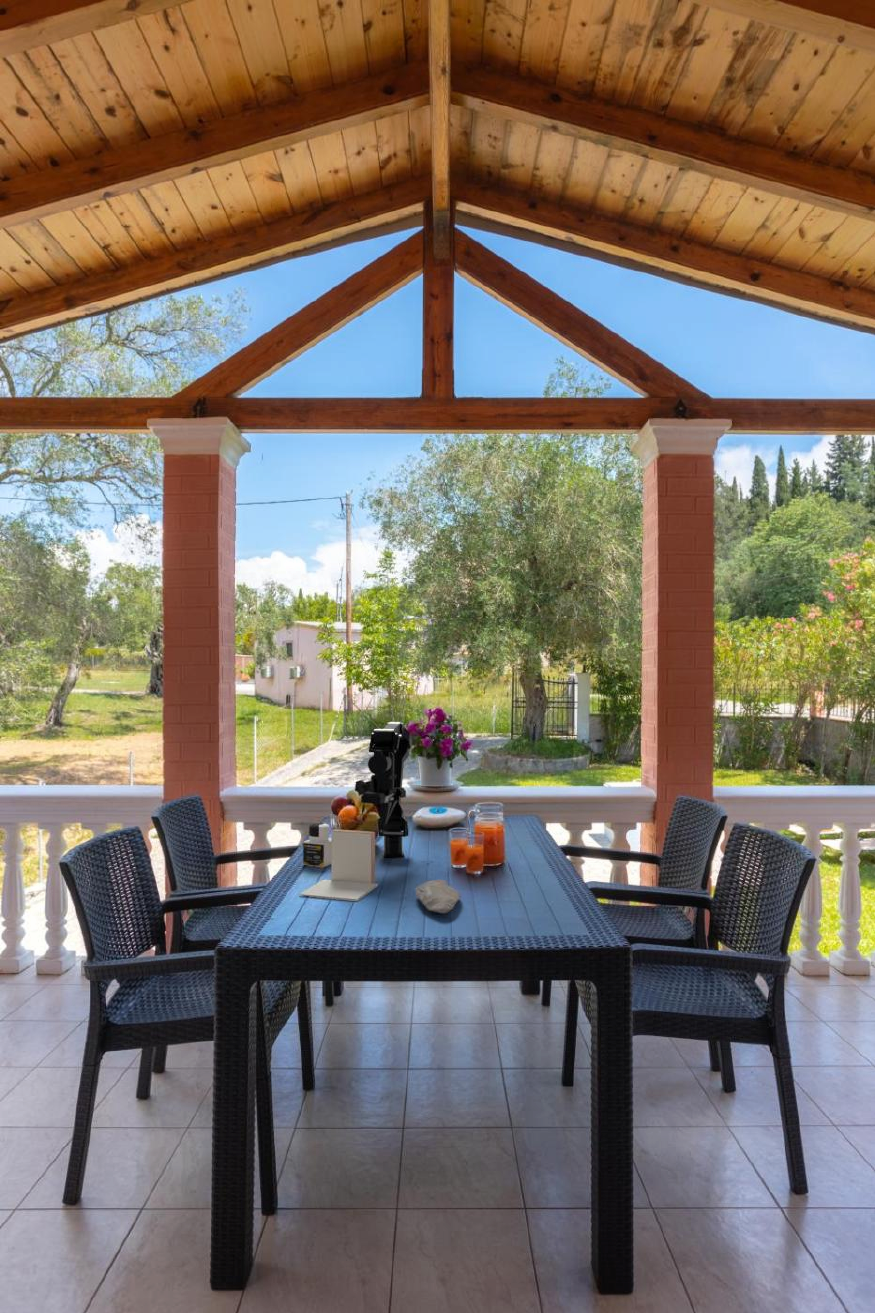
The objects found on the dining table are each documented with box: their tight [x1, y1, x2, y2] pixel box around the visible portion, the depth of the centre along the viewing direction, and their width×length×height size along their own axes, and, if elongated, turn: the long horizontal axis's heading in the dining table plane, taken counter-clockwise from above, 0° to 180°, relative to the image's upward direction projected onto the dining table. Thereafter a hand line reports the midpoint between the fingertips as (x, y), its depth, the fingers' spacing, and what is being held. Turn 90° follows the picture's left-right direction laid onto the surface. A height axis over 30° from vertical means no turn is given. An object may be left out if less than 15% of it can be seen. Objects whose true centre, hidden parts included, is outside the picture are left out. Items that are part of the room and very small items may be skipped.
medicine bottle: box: [302, 822, 331, 868], centre depth 247 cm, size 7×7×12 cm
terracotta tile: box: [330, 828, 376, 884], centre depth 226 cm, size 2×12×14 cm, turn 73°
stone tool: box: [414, 879, 462, 915], centre depth 205 cm, size 12×5×25 cm
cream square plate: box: [299, 879, 379, 903], centre depth 217 cm, size 15×16×1 cm
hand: (383, 824), depth 242 cm, fingers closed
